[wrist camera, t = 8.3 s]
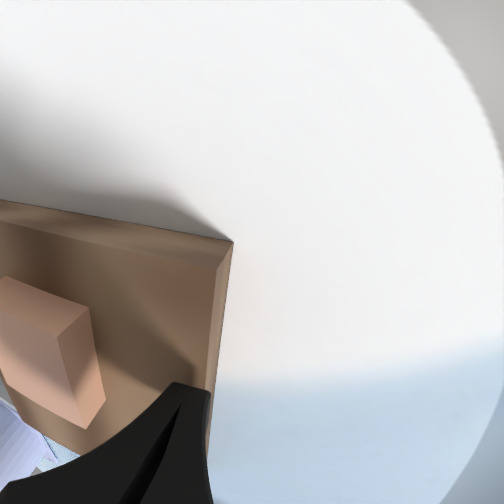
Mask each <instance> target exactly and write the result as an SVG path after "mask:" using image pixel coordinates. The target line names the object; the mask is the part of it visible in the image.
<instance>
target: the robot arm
mask: <svg viewBox="0 0 504 504" xmlns="http://www.w3.org/2000/svg"><path fill="white" fill-rule="evenodd" d="M210 403H211V393H210V392H209V391H208V390H204V389H200V388H196V387H192V386H188V385H185V384H181V383H177V382H172V383H170V385H169V386H168V387H167V388H166V389H165V390H164V391H163V392H162V394H161V395H160V396H159V397H158V398H157V399H156V400H155V401H154V402H153V403H152V404H151V405H150V406H149V407H148V408H147V409H145V410H144V411H143V412H142V413H141V414H140V415H139V416H138V417H137V418H135V419H134V420H133V421H132V422H131V423H130V424H128V425H127V426H126V427H124V428H123V429H122V430H121V431H119V432H118V433H117V434H115V435H114V436H113V437H111V438H110V439H108V440H107V441H106V442H104V443H103V444H101V445H99V446H98V447H96V448H95V449H93V450H91V451H90V452H88V453H86V454H84V455H82V456H80V457H78V458H76V459H75V460H72V461H70V462H68V463H66V464H64V465H61V466H59V467H56V468H54V469H51V470H48V471H46V472H43V473H41V474H37V475H34V476H30V474H31V473H32V471H33V470H34V469H35V467H36V466H37V464H38V463H39V461H40V460H41V458H42V457H45V458H46V459H48V460H50V461H51V462H53V463H55V464H58V460H57V458H56V457H55V455H54V454H53V452H52V451H51V449H50V447H49V446H48V444H47V442H46V441H45V439H44V437H43V435H42V434H41V433H40V432H38V431H37V430H35V429H33V428H32V427H30V426H29V425H27V424H26V423H24V422H23V421H22V419H21V417H20V416H19V414H18V412H17V411H15V410H14V409H13V408H11V407H10V406H8V405H7V404H6V403H4V402H3V401H1V400H0V504H213V499H212V494H211V489H210V483H209V477H208V469H207V459H206V438H205V436H206V431H207V427H208V422H209V412H210ZM29 476H30V477H29Z"/></svg>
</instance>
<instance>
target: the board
mask: <svg viewBox="0 0 504 504" xmlns="http://www.w3.org/2000/svg"><path fill="white" fill-rule="evenodd" d="M233 244H234V242H230V241H225V240H219V239H214V238H209V237H203V236H198V235H192V234H187V233H182V232H176V231H171V230H166V229H160V228H155V227H149V226H144V225H138V224H133V223H128V222H122V221H117V220H111V219H106V218H100V217H95V216H89V215H84V214H78V213H72V212H67V211H61V210H56V209H50V208H44V207H39V206H33V205H28V204H22V203H16V202H10V201H5V200H0V279H1V278H3V277H5V276H8V277H11V278H13V279H15V280H18V281H20V282H23V283H25V284H28V285H30V286H32V287H35V288H37V289H40V290H43V291H45V292H48V293H50V294H53V295H56V296H58V297H61V298H64V299H67V300H69V301H72V302H75V303H78V304H81V305H84V306H86V307H89V310H90V318H91V325H92V332H93V338H94V344H95V350H96V355H97V361H98V366H99V371H100V375H101V380H102V384H103V389H104V393H105V397H106V400H105V402H104V403H103V405H102V406H101V408H100V409H99V411H98V412H97V414H96V415H95V417H94V418H93V420H92V421H91V423H90V424H89V426H88V427H87V429H84V428H82V427H80V426H78V425H76V424H74V423H72V422H70V421H68V420H66V419H64V418H62V417H60V416H58V415H56V414H55V413H53V412H51V411H49V410H48V409H46V408H44V407H42V406H41V405H39V404H37V403H36V402H34V401H32V400H31V399H29V398H27V397H26V396H24V395H23V394H21V393H20V392H18V391H16V390H15V389H13V388H12V387H10V386H9V385H8V384H7V383H6V380H5V378H4V376H3V374H2V371H1V369H0V377H1V379H2V382H3V384H4V386H5V388H6V390H7V392H8V394H9V396H10V398H11V400H12V402H13V404H14V406H15V408H16V410H17V412H18V414H19V416H20V417H21V419H22V421H23V422H24V423H26V424H27V425H29V426H30V427H32V428H33V429H35V430H37V431H38V432H40V433H41V434H43V435H45V436H46V437H48V438H50V439H51V440H53V441H55V442H57V443H58V444H60V445H62V446H64V447H66V448H68V449H69V450H71V451H73V452H75V453H77V454H79V455H81V456H82V455H84V454H86V453H88V452H90V451H91V450H93V449H95V448H96V447H98V446H99V445H101V444H103V443H104V442H106V441H107V440H108V439H110V438H111V437H113V436H114V435H115V434H117V433H118V432H119V431H121V430H122V429H123V428H124V427H126V426H127V425H128V424H130V423H131V422H132V421H133V420H134V419H135V418H137V417H138V416H139V415H140V414H141V413H142V412H143V411H144V410H145V409H147V408H148V407H149V406H150V405H151V404H152V403H153V402H154V401H155V400H156V399H157V398H158V397H159V396H160V395H161V394H162V392H163V391H164V390H165V389H166V388H167V387H168V386H169V385H170V383H172V382H177V383H181V384H185V385H188V386H192V387H196V388H200V389H204V390H208V391H209V392H210V393H211V403H210V412H209V422H208V427H207V431H206V436H205V438H206V459H207V454H208V444H209V435H210V426H211V417H212V408H213V399H214V391H215V382H216V374H217V366H218V357H219V349H220V341H221V333H222V326H223V318H224V310H225V302H226V295H227V287H228V280H229V273H230V265H231V258H232V251H233Z"/></svg>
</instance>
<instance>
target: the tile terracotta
mask: <svg viewBox="0 0 504 504" xmlns="http://www.w3.org/2000/svg"><path fill="white" fill-rule="evenodd" d="M0 369H1V371H2V374H3V376H4V378H5V380H6V383H7V384H8V385H9V386H10V387H12V388H13V389H15V390H16V391H18V392H20V393H21V394H23V395H24V396H26V397H27V398H29V399H31V400H32V401H34V402H36V403H37V404H39V405H41V406H42V407H44V408H46V409H48V410H49V411H51V412H53V413H55V414H56V415H58V416H60V417H62V418H64V419H66V420H68V421H70V422H72V423H74V424H76V425H78V426H80V427H82V428H84V429H87V427H88V426H89V424H90V423H91V421H92V420H93V418H94V417H95V415H96V414H97V412H98V411H99V409H100V408H101V406H102V405H103V403H104V402H105V400H106V397H105V393H104V389H103V384H102V380H101V375H100V371H99V366H98V361H97V355H96V350H95V344H94V338H93V332H92V325H91V318H90V310H89V307H86V306H84V305H81V304H78V303H75V302H72V301H69V300H67V299H64V298H61V297H58V296H56V295H53V294H50V293H48V292H45V291H43V290H40V289H37V288H35V287H32V286H30V285H28V284H25V283H23V282H20V281H18V280H15V279H13V278H11V277H8V276H5V277H3V278H1V279H0Z"/></svg>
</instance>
